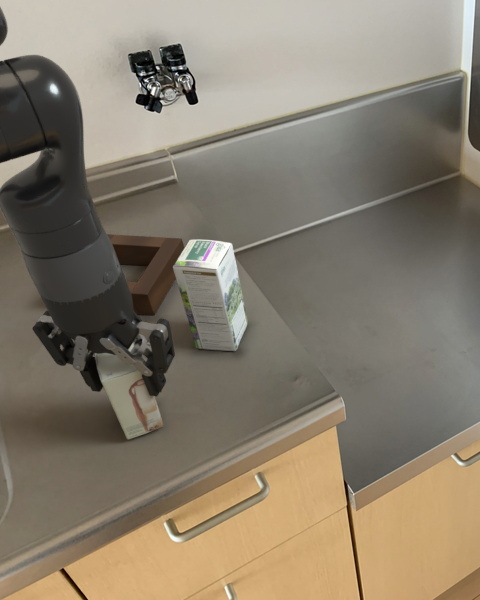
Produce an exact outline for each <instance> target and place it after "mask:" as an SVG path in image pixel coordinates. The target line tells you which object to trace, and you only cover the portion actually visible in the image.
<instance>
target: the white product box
mask: <svg viewBox="0 0 480 600" xmlns="http://www.w3.org/2000/svg"><path fill="white" fill-rule="evenodd" d="M133 347H134V342H133V343H132V345H131V346H130V348H129V349H128V350H129V351H130V352H131V350H132V348H133ZM94 357H95V359H96V365H97V369H98V373H99V376H100V379H101V382H102V385H103V389H104V391H105V394H106V396H107V398H108V400H109V403H110V405H111V407H112V409H113V411H114V413H115V415H116V418H117V420H118V423H119V425H120V427H121V429H122V431H123V433H124V436H125V438H126V440H129V441H130V440H131V439H134V438H137V437H140V436H143V435H146V434H148V433H152V432H154V431H156V430H159V429H162V428H163V427H164V421H163V418H162V414H161V412H160V411H161V410H160V408H159V406H158V403H157V400H156V398H155V397H156V396H150V395H149V392H148V390H147V388H146V385H145V383H144V380H143V378H142V373H141V372H140V371H139V370H138V369H137V368H135V367H134V366H133V365H132V364H131V365H127V364H125V363H124V362H123V361H122V360H121V359H120V358H119V357H118V356H117V355H113V354H109V353H101V354H97V353H94Z"/></svg>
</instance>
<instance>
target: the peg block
mask: <svg viewBox="0 0 480 600" xmlns="http://www.w3.org/2000/svg"><path fill="white" fill-rule="evenodd" d="M106 234H107V235H108V237H109V239H110V241H111V243H112V245H113V247H114V250H115V252H116V255H117V258H118V261H119V263H120V265H122V266H123V265H126V266H142V267H146V268H145V270H144V271H143V273H142V274H141V276H140V277H139V279H138V281H126V282H127V284H128V287H129V290H130V292H131V295H132V301H133V310H134V312H135V313H136V314H137V315H146V316H155V315H156V313H157V312H158V310H159V309H160V307H161V305H162V303H163V302H164V300H165V298H166V297H167V295H168V293H169V292H170V290H171V288H172V286H173V285H174V283H175V281H176V277H175V273H174V270H173V266H174V264H175V263H176V261H177V260H178V258H179V256H180V255H181V253H182V252H183V250H184V248H185V245H184V244H185V243H184V241H183V238H179V237H163V236H161V237H160V236H146V235H145V236H144V235H130V234H129V235H127V234H110V233H106Z"/></svg>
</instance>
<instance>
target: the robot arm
mask: <svg viewBox="0 0 480 600" xmlns="http://www.w3.org/2000/svg"><path fill="white" fill-rule="evenodd" d="M8 27H9V26H8V20H7V18H6V15H5V13H4V11H3V9H2V7H1V6H0V47H1V46H2V45H3V44H4V42H5V41H6V39H7V37H8V32H9V28H8ZM84 130H85V129H84V115H83V108H82V102H81V98H80V95H79V92H78V90H77V87H76V85H75V83H74V82H73V80H72V78H71V77H70V76H69V74H68V73H67V72H66V71H65V70H64V69H63V67H61V66H60V65H59V64H57V63H56V62H55V61H53V60H52V59H51V58H48V57H45V56H44V55H40V54H24V55H20V56H16V57H11V58H7V59H3V60H0V164H3V163H7V162H9V161H11V160H12V161H13V160H16V159H19V158H22V157H26V156H29V155H32V154H35V153H38V152H40V153H39V155H38V157H37V159H36V160H35V161H34V162H32V164H30V165H28V166H27V167H26V168H24V169H23V170H21V171H19V172H17V173H15V174H14V175H13V176H11V177H10V178H8V179H7V180H6V181H5V182H4V183H3V184H2V185H1V187H0V212H1V213H2V215H3V218H4V219H5V221H6V223H7V225H8V228H9V229H10V231H11V234H12V235H13V237H14V238H15V241H16V243H17V245H18V248H19V249H20V252H21V254H22V257H23V261H24V264H25V267H26V269H27V272H28V274H29V276H30V279H31V280H32V282H33V284H34V286H35V288H36V290H37V292H38V294H39V296H40V298H41V300H42V302H43V304H44V306H45V308H46V310H45V311H44V312H43V313H42V315H41V316H40V317H39V318H38V320H37V321H36V323H34V325H33V326H32V328H31V329H32V332H34V334H35V336H36V337H37V338H38V340H39V341H40V343H41V344H42V345H43V347H44V348H45V350H46V351H47V353H48V354H49V355H50V357H51V358H52V360H53V361H54V362H55V363H56V364H57V365H58V366H61V367H66V365H67V364H68V365H71V366H72V368H73V369H74V370H76V371H78V372H79V373H80V375H81V377H82V379H83V381H84V383H85V384H86V386H88V387H89V388H90V389H91V391H92V392H95V393H96V392H98V393H100V392H101V391H102V390H103V389H104V387H103V385H102V382H101V379H100V376H99V373H98V369H97V365H96V359H95V353H97V354H101V353H109V354H113V355H117V356H118V357H119V358H120V359H121V360H122V361H123V362H124V363H125V364H127V365H131V364H132V365H133V366H134V367H135V368H137V369H138V370H139V371H140V372H141V373H142V378H143V380H144V383H145V385H146V388H147V390H148V392H149V395H150V396H154V397H158V396H159V394H160V393H162V391H163V389H164V387H165V385H166V384H167V379H166V376H165V374H166V373H168V370H169V368H170V366H171V364H172V362H173V360H174V358H175V356H176V352H175V348H174V340H173V335H172V334H173V333H172V329H171V322H170V321H169V320H168V319H165V318H159V319H158V321H157V322H156V323H152V322H146V321H143V320H142V318H141V317H140V315H139V314H136V313H135V312H134V310H133V301H132V295H131V292H130V290H129V287H128V284H127V282H128V281H127V279H126V276H125V274H124V271H123V268H122V266H121V264H120V263H119V261H118V258H117V255H116V252H115V250H114V247H113V245H112V243H111V241H110V239H109V237H108V235H107V234H108V233H107V232H106V230H105V229H104V225H103V224H102V221H101V218H100V216H99V212H98V210H97V208H96V205H95V202H94V201H93V198H92V197H93V196H92V194H91V192H90V188H89V183H88V179H87V170H86V161H85V140H84V139H85V138H84V137H85V134H84V133H85V131H84ZM133 342H134V347H133V348H132V350H131V352H130V351H129V350H128V349H129V348H130V346H131V345H132V343H133ZM61 346H62V348H61ZM143 356H144V357H145V358H146V360H145V359H143Z"/></svg>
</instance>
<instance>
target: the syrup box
mask: <svg viewBox="0 0 480 600" xmlns="http://www.w3.org/2000/svg"><path fill="white" fill-rule="evenodd" d="M173 270H174V273H175V277H176V279H175V281H176V282H177V287H178V290H179V293H180V297H181V301H182V304H183V308H184V311H185V314H186V318H187V321H188V325H189V328H190V332H191V335H192V339H193V342H194V345H195V348H196V349H198V350H199V349H200V350H212V351H226V352H227V351H228V352H237V351H238V349H239V346H240V344H241V341H242V339H243V336H244V334H245V332H246V330H247V327H248V324H249V321H248V314H247V310H246V305H245V300H244V296H243V290H242V286H241V281H240V280H241V279H240V277H239V272H238V271H239V270H238V266H237V262H236V256H235V252H234V247H233V243H232V242H226V241H222V240H212V239H189V240H188V242H187V244H186V245H185V246H184V250H183V252H182V253H181V255H180V256H179V258H178V260H177V261H176V263H175V264H174V266H173Z"/></svg>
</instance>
